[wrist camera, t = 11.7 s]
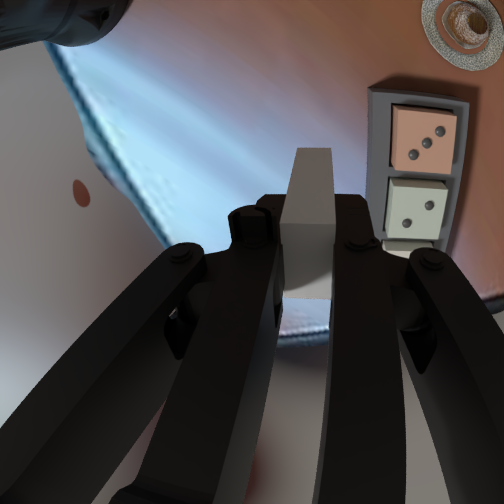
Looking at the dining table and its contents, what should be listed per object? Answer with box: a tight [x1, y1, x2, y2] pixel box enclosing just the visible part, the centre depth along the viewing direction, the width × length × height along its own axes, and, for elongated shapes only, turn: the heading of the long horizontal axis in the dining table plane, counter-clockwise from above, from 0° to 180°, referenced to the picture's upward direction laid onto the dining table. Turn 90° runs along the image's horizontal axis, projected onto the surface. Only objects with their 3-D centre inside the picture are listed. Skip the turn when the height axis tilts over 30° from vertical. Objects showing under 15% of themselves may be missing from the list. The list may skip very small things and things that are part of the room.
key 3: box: [389, 103, 457, 174], centre depth 32 cm, size 7×7×4 cm
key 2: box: [383, 176, 448, 239], centre depth 37 cm, size 7×7×4 cm
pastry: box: [421, 0, 504, 71], centre depth 23 cm, size 12×12×5 cm
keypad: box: [365, 88, 469, 253], centre depth 38 cm, size 12×28×4 cm, turn 6°
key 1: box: [381, 239, 433, 259], centre depth 42 cm, size 7×7×4 cm
